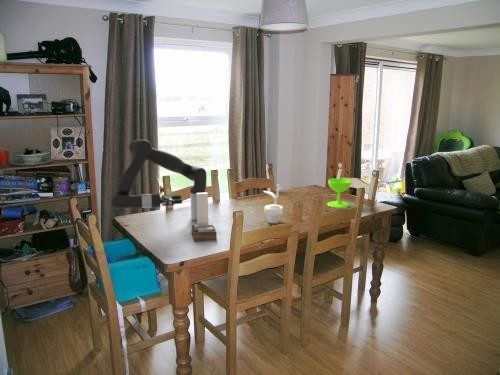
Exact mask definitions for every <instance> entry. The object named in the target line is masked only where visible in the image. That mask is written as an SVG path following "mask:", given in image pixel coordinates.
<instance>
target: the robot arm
mask: <svg viewBox="0 0 500 375" xmlns="http://www.w3.org/2000/svg"><path fill="white" fill-rule="evenodd" d="M128 150H129V152H130V153H131V154H132V156H133V155H134V157H133V159H132V162H131V163H130V164H129V166H128V167H127V169H125V171H124V172H123V174H122V175H121V178H120V180H119V183H118V186H117V190H116V193H115V195H114V196H113V197H112V198H111V200H110V205H111V206H112V207H113V208H114V209H116V210H122V209H125V208H132V209H140V208H141V209H142V208H143V209H151V208H153V209H155V208H160V207H161V206H162V207H164V206H165V207H166V206H174V205H175V204H176V205H179V204H183V199H182V195H173V194H172V193H170V194H160V192H159V193H144V194H133V195H132V194H131V195H130V193H131V191H132V189H133V187H134V184H135V182H136V179H137V177H138V175H139V173H140V171H141V170H142V168H143V166H144V164H145V163H146V160H148V161H150V162H152V163H154V164H155V165H157V166H158V167H162V168H163V169H165V170H168V171H171V172H173V173H176V174H179V175H182V176H184V177H185V178H187V179H188V180H190V181H193V186H191V187H190V189H189V193H190V197H189V198H190V219H191V220H192V221H197V200H196V193H205V192H206V188H207V176H208V175H207V172H206V170H205V168H204V167H199V166H194V165H191V164H188V163H186V162H185V161H183V160H182V159H181V158H180V157H178V156H177V155H174V154H173V153H170V152H167V151H164V150H161V149H158V148H153V147H152V143H151V142H150V141H149V140H147V139H134V140H132V141H131V142H130V143H129V145H128Z"/></svg>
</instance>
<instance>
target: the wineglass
mask: <svg viewBox="0 0 500 375" xmlns="http://www.w3.org/2000/svg"><path fill="white" fill-rule="evenodd" d="M327 182H328V186H329V188H330V189H331V190H332V191H333V192H336V193H337V195H336V196H337V197H336V200H332V201H328V202H326V206H327V205H328V207H329V206H331V207H330V208H332V207H335V208H334V209H348V208H350V207H349V205H350V204H349V203H348V202H347V201H346V202H345V201H341V193H343V192H345V191H347V190H348V189H349V188H350V186H351V185H352V180H350V179H348V178H339V177H337V178H329V179H328V181H327ZM347 207H348V208H347Z"/></svg>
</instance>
